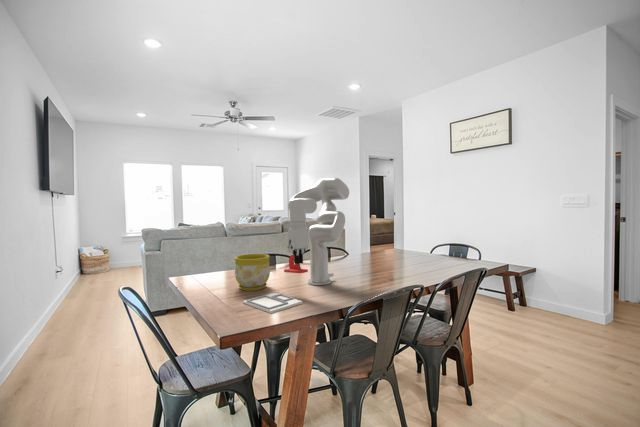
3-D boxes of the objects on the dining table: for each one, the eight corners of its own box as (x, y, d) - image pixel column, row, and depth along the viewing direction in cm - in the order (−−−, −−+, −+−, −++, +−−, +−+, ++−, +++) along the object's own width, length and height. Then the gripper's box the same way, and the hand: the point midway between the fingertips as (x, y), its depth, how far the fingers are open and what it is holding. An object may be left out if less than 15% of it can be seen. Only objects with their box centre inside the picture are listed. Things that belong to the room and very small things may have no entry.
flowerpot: (262, 281, 186) (261, 252, 185) (276, 288, 171) (275, 256, 170) (230, 286, 176) (229, 255, 175) (242, 294, 161) (241, 260, 160)
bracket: (284, 272, 161) (282, 255, 161) (291, 270, 165) (290, 254, 165) (300, 273, 153) (299, 256, 153) (308, 271, 156) (306, 254, 156)
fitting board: (274, 294, 159) (273, 291, 159) (302, 303, 145) (302, 299, 145) (243, 303, 147) (243, 299, 147) (271, 313, 133) (270, 309, 133)
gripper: (304, 223, 167) (305, 260, 168) (280, 225, 156) (281, 264, 157) (315, 224, 162) (315, 261, 163) (290, 226, 151) (291, 266, 151)
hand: (298, 263), depth 160 cm, fingers closed on bracket, 1 cm apart
